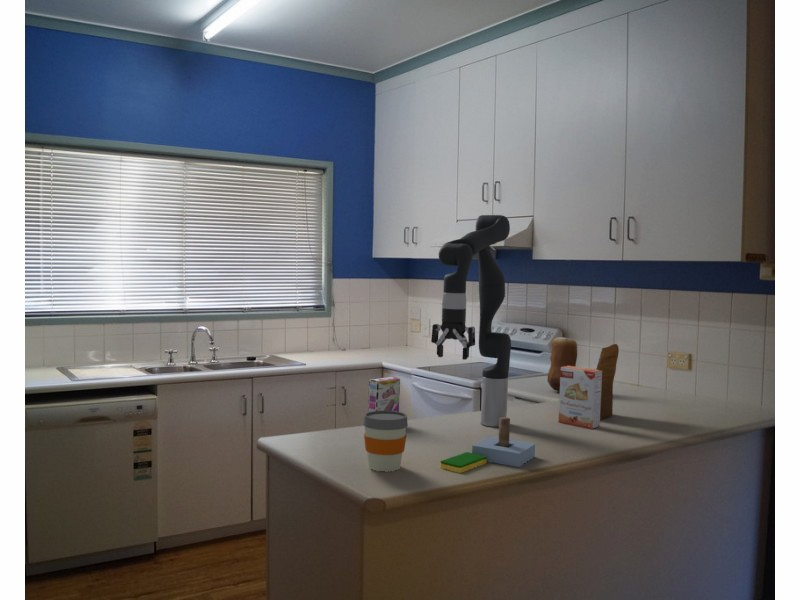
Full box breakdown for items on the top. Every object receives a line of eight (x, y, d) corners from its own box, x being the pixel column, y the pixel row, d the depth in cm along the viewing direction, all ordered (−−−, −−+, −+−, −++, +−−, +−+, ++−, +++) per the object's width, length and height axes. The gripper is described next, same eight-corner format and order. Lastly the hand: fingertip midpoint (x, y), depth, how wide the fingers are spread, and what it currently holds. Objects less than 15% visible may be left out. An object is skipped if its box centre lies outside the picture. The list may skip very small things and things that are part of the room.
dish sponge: (439, 469, 208) (439, 460, 208) (466, 459, 218) (467, 451, 218) (460, 474, 203) (460, 466, 203) (487, 464, 214) (487, 456, 214)
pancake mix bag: (621, 415, 284) (625, 344, 282) (599, 422, 270) (602, 347, 268) (605, 412, 289) (608, 342, 287) (582, 419, 275) (585, 345, 273)
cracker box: (557, 422, 268) (559, 366, 267) (565, 420, 273) (568, 365, 271) (592, 429, 259) (594, 371, 258) (600, 427, 263) (602, 369, 262)
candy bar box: (376, 428, 253) (377, 381, 251) (366, 425, 256) (368, 379, 255) (399, 423, 260) (400, 378, 259) (389, 421, 264) (391, 376, 263)
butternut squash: (578, 390, 334) (580, 336, 333) (578, 396, 321) (580, 339, 320) (547, 388, 337) (549, 335, 336) (546, 393, 324) (548, 338, 323)
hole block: (488, 449, 229) (489, 436, 229) (534, 456, 222) (535, 443, 221) (471, 458, 218) (472, 445, 218) (519, 467, 210) (519, 453, 210)
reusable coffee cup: (370, 459, 215) (371, 408, 214) (411, 463, 211) (413, 412, 210) (356, 470, 203) (357, 417, 202) (399, 476, 199) (400, 421, 198)
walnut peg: (500, 455, 222) (501, 416, 221) (510, 457, 220) (511, 418, 220) (496, 458, 219) (497, 418, 218) (506, 459, 218) (507, 420, 217)
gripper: (479, 307, 229) (478, 359, 230) (439, 305, 236) (437, 354, 237) (469, 309, 222) (468, 361, 223) (428, 306, 229) (427, 357, 230)
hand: (452, 358), depth 230 cm, fingers open, 8 cm apart
